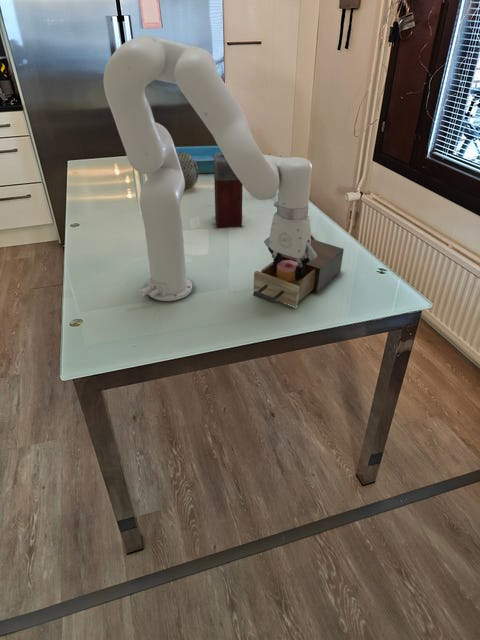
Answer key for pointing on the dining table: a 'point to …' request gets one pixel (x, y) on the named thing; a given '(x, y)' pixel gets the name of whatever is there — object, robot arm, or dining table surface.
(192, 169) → the decorative egg
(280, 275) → the donut
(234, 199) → the toy vending machine
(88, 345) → the dining table surface
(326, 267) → the cabinet
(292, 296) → the drawer
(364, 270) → the dining table surface
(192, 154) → the casserole dish
